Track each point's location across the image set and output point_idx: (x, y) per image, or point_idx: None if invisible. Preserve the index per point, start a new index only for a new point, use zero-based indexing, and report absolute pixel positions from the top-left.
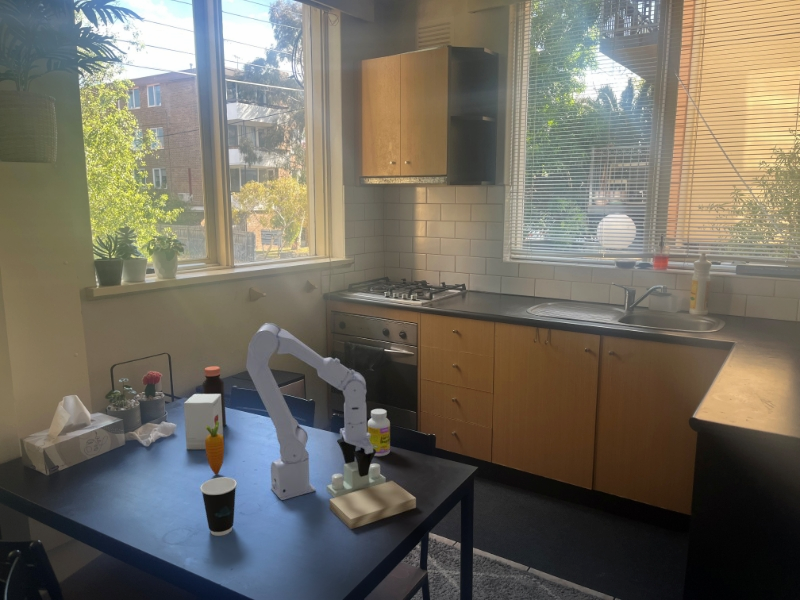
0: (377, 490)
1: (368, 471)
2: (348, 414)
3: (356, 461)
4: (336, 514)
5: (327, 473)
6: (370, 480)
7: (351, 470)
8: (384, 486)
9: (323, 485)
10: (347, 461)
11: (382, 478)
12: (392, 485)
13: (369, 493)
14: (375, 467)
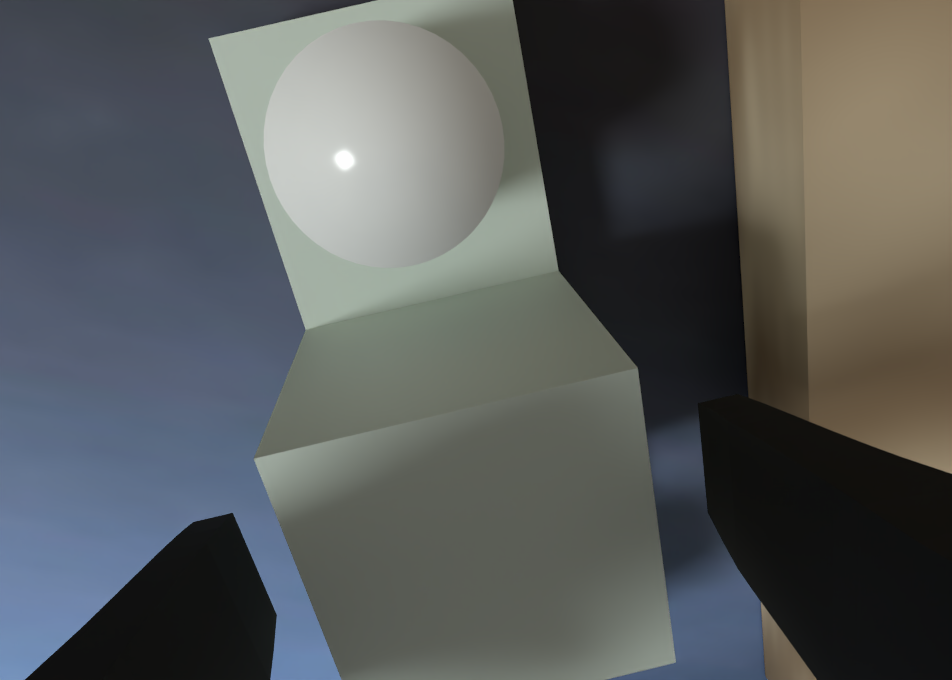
0: (944, 277)
1: (783, 413)
2: None
3: (302, 536)
4: None
5: (13, 610)
6: (496, 235)
7: (640, 666)
8: (902, 142)
9: (307, 672)
10: (255, 673)
11: (501, 32)
12: (948, 1)
13: (949, 393)
14: (467, 156)
